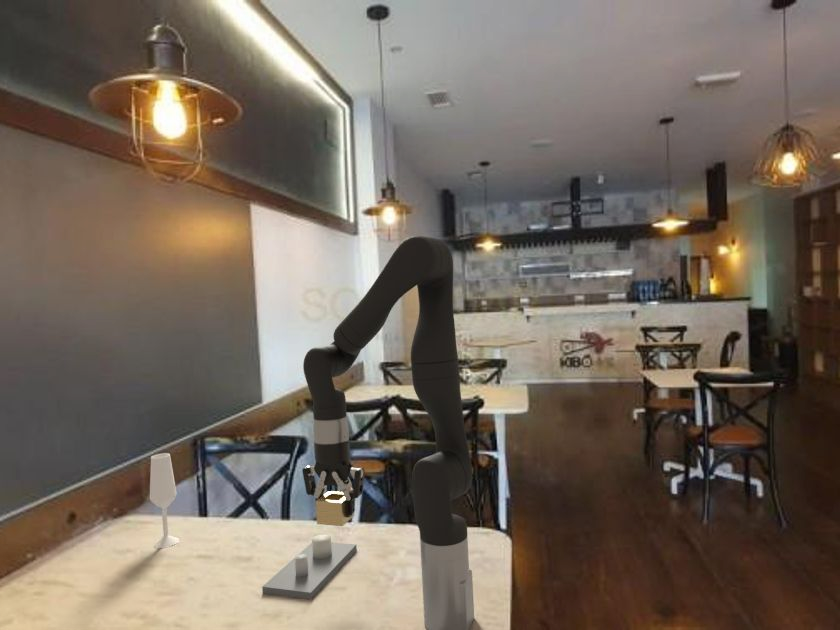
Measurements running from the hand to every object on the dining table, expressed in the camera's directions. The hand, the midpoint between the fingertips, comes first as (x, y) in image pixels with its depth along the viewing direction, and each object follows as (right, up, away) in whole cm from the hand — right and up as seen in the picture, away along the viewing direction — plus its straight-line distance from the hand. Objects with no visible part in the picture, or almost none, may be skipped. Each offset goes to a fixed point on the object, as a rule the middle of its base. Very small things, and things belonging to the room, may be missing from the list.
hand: (335, 514), depth 124 cm
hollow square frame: (0, -1, 0) cm, 1 cm away
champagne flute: (-51, -19, +33) cm, 64 cm away
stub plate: (-7, -18, +13) cm, 23 cm away
